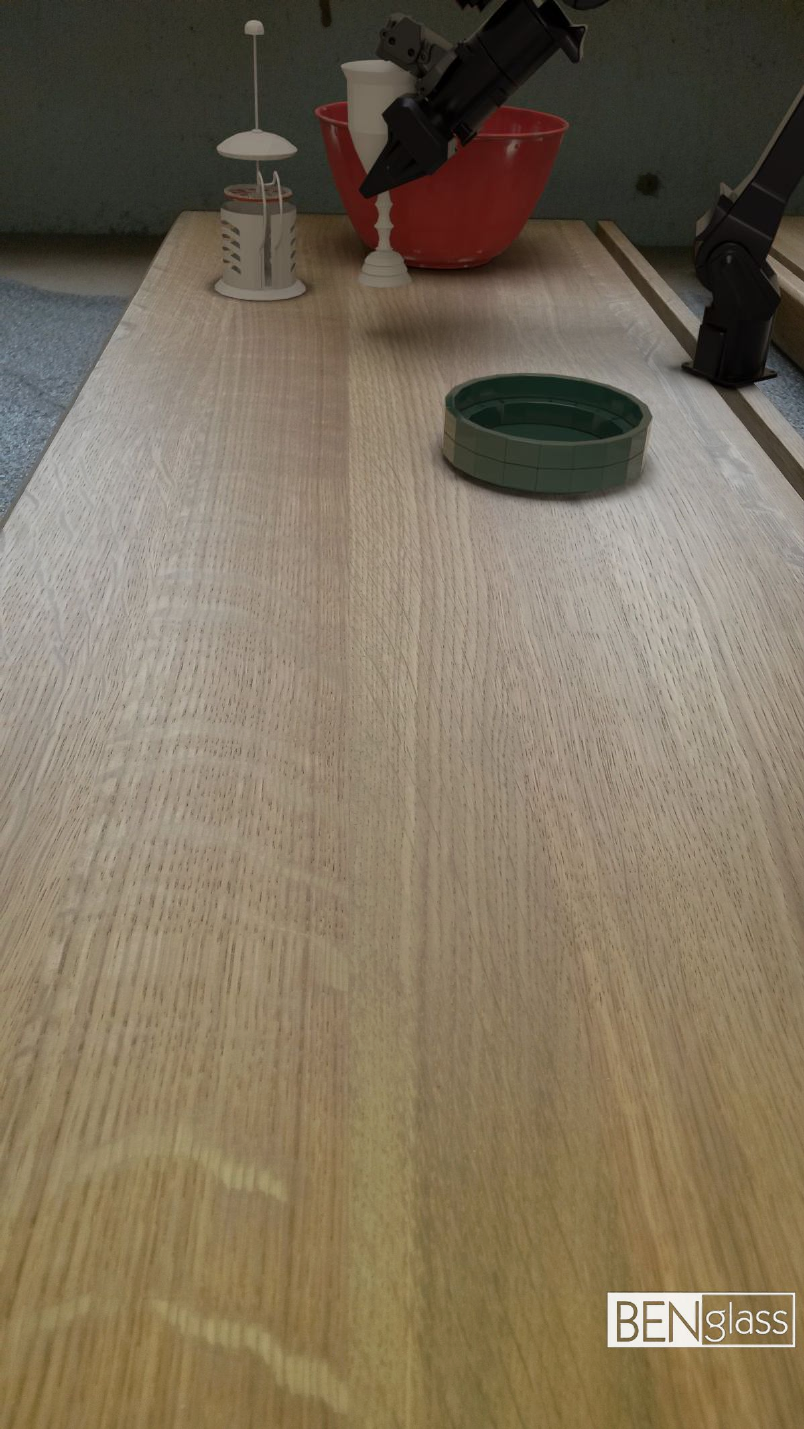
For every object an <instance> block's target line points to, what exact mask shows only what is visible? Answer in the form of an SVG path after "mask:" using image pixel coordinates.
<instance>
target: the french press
mask: <svg viewBox="0 0 804 1429" xmlns="http://www.w3.org/2000/svg"><path fill="white" fill-rule="evenodd" d="M244 34H246V35H252V37H253V72H254V73H253V75H254V76H253V77H254V114H255V115H254V116H255V128H253V129H251V130H249V131H243V132H239V133H236V134H234V135H232V136H229V137H228V138H226V139H225V140H223V141H222V142H221V143H219V144H218V145H217V146H216V151H217V153H218V154H219V155H220V156H222V157H224V158H231V159H235V160H242V161H243V160H244V161H255V162H256V182H254V183H250V182H249V183H248V184H247V183H242V184H241V183H240V184H239V183H238V184H233V185H229V186H226V187H225V188H223V195H224V196H225V197H226V198H229V199H231V200H229V201H226V202H224V203H222V204H221V205H220V222H221V225H223V226H221V237H222V238H223V239H221V247H222V248H221V249H222V250H223V251H224V252H222V253H221V254H222V262H223V265H222V277H221V278H220V279H219V280H218V281H217V282H216V283H215V284H214V290H215V291H216V292H218V293H219V294H220V295H222V296H226V297H229V298H234V299H240V300H248V301H278V300H287V299H291V298H294V297H298V296H301V295H302V294H304V293H305V292H306V291H307V288H306V285H305V284H304V283H303V282H302V280H300V279H299V278H297V277H298V263H297V262H295V261H296V260H297V257H298V255H297V249H296V248H297V247H296V246H297V245H298V244H297V237H295V235H296V234H297V224H295V223H296V220H297V207H296V205H295V204H293V203H290V202H287V201H286V200H289V199H291V198H292V197H293V196H294V192H293V191H292V189H291V188H288V187H286V186H283V185H281V183H280V182H281V181H280V178H279V177H280V176H279V175H278V172H277V171H276V170H274V171H273V174H272V175H273V177H272V182H269V183H268V182H267V183H264V180H263V176H262V172H261V171H260V161H278V160H285V159H288V158H291V157H293V156H295V154H297V152H298V148H297V147H296V146H295V145H294V144H292V143H291V142H290V141H288V140H287V139H286V138H285V137H282V136H280V135H278V134H275V133H272V132H267V131H264V130H262V129H261V128H259V111H258V110H259V109H258V108H259V107H258V106H259V104H258V64H257V62H258V61H257V59H258V58H257V36H259V35H260V36H261V35H265V28H264V25H263V23H262V22H261V21H260V20H256V19H252V20H248V21H247V22H246V23H245V25H244ZM276 182H277V184H276ZM224 225H226V226H228V225H232V226H233V228H231V229H229V228H228V227H226V226H224ZM230 238H231V239H232V240H233V241H231V242H230V241H228V240H227V239H230ZM227 251H232V252H233V253H232V254H230V253H227ZM229 263H231V264H232V265H233V266H228V265H226V264H229Z"/></svg>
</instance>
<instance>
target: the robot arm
mask: <svg viewBox="0 0 804 1429" xmlns="http://www.w3.org/2000/svg"><path fill="white" fill-rule="evenodd" d="M453 1H454V3H455V4H456V6H457V7H458V8H459V9H460V10H461V12H465V11H466V10H467V9H468V8H471V9H474V8H475V7H476V10H477V11H478V12H479V14H482V13H484V12H485V11H486V10H487V9H488V8H489V7H490V6H491V5H492V4H493V3H494V2H495V1H496V0H453ZM561 1H562V3H563V4H565V5H566V6H568V7H570V8H571V9H574V10H576V11H582V12H585V11H590V10H595V9H597V8H599V7H601V6H603V5H605V4H607V3H609V2H610V1H611V0H561ZM588 29H589V26H588V24H586V23H582V24H577V23H576V24H575V23H573V22H572V20H571V19H570V18H569V17H568V15H567V14H566V13H565V11H564V10H563V8H562V7H561V6H560V4H559V3H558V2H557V0H544V1H542V0H504V1H503V3H501V4H500V6H499V7H498V8H497V9H495V10H494V12H493V13H492V14H490V16H489V17H488V18H486V20H485V21H484V22H483V23H482V24H481V25H480V26H479V27H478V28H477V30H475V31H474V32H473V33H472V34H471V35H470V36H469V37H465V38H464V39H463V40H458V41H457V42H456V43H455V44H452V43H450V42H449V41H447V40H446V39H444V38H443V37H442V36H440V35H439V34H437V33H436V32H434V31H432V30H431V29H430V28H427V27H426V24H425V23H424V22H418V21H416V20H414V19H413V16H412V15H410V14H409V15H406V14H405V13H402V12H395V13H392V14H389V16H388V18H387V21H386V22H385V25H384V27H383V28H381V29H380V30H379V34H378V36H379V39H378V42H377V44H376V46H375V48H374V55H375V56H377V57H378V58H379V59H380V60H384V61H391V62H392V63H394V64H396V65H397V66H399V67H400V68H402V69H404V70H405V71H410V74H412V75H414V76H416V77H418V78H419V82H418V83H417V84H416V85H415V86H416V87H417V89H418V90H419V94H418V93H405V94H403V95H401V96H399V97H397V98H396V99H395V100H394V101H393V103H392V104H391V105H390V106H389V107H388V108H387V109H386V110H385V111H384V112H383V113H382V114H381V115H382V117H383V119H384V121H385V122H386V124H387V129H388V141H387V143H386V145H385V147H384V148H383V150H382V152H381V153H380V155H379V157H378V158H377V160H376V161H375V163H374V165H373V166H372V168H371V170H370V171H369V173H368V174H367V176H366V178H365V179H364V181H363V182H362V184H361V186H360V187H359V192H360V193H361V195H362V196H363V197H364V198H365V199H369V198H371V197H374V196H376V195H379V194H381V193H384V192H386V191H388V190H391V189H393V188H396V187H398V186H401V185H404V184H406V183H409V182H411V181H414V180H417V179H419V178H422V177H424V176H427V175H431V176H432V175H433V174H434V173H435V172H436V171H438V170H439V169H440V168H441V167H442V166H443V165H444V164H445V163H446V162H447V161H448V160H449V159H450V158H451V157H453V156H454V155H455V154H456V153H457V152H458V148H457V147H456V145H455V142H456V137H455V135H454V134H456V136H457V137H458V138H459V139H460V141H461V142H460V144H461V145H462V147H463V148H464V147H465V146H466V145H467V144H468V143H470V142H471V141H472V140H473V139H474V138H475V137H476V136H477V135H478V134H479V133H480V132H481V131H482V130H483V123H484V122H485V121H486V120H487V119H488V118H489V117H490V116H491V115H492V114H493V113H494V112H495V111H496V110H497V109H498V108H499V107H500V106H504V104H505V103H506V102H507V101H508V100H510V98H511V97H512V96H513V95H515V94H516V92H517V91H518V90H519V89H520V88H521V87H522V86H523V85H524V84H525V83H527V81H528V80H529V79H530V78H532V77H533V75H534V74H535V73H536V72H538V71H539V69H540V68H541V67H543V65H545V64H546V63H547V62H548V60H550V59H551V58H552V57H553V56H554V55H555V54H556V53H557V52H558V51H559V50H560V49H561V50H562V52H563V53H564V54H565V55H566V57H567V59H568V60H569V61H570V62H571V63H572V64H579V62H580V61H581V60H582V59H583V58H584V44H585V38H586V34H587V32H588ZM803 177H804V84H803V85H802V86H801V88H800V90H799V92H798V94H797V95H796V97H795V98H794V100H793V102H792V103H791V105H790V107H789V108H788V110H787V112H786V113H785V115H784V117H783V118H782V120H781V121H780V124H779V125H778V127H777V128H776V130H775V132H774V134H773V135H772V137H771V139H770V141H769V142H768V144H767V145H766V147H765V148H764V150H763V152H762V154H761V156H760V157H759V159H758V160H757V162H756V164H755V165H754V167H753V168H752V170H751V171H750V173H749V174H747V176H746V177H745V178H744V179H743V180H742V181H741V182H740V183H739V185H737V187H735V188H734V190H732V188H730V187H729V186H728V185H727V184H725V182H723V181H722V182H720V183H719V184H718V187H717V190H716V192H715V195H714V197H713V200H712V202H711V204H710V206H709V208H708V210H707V211H706V212H705V213H704V215H703V216H702V217H700V218H699V219H698V220H697V221H696V222H695V236H694V240H695V246H694V248H695V249H694V270H695V275H696V278H697V279H698V281H699V283H700V284H701V286H702V287H704V288H705V289H706V290H707V291H709V292H710V293H711V296H712V299H711V300H709V302H708V304H705V305H704V309H703V315H702V321H701V323H700V324H699V328H698V333H697V339H696V345H695V349H694V356H693V360H692V359H691V360H688V361H684V362H683V361H682V362H681V364H680V369H681V370H683V371H685V372H689V373H691V374H694V375H696V376H699V377H702V378H704V379H706V380H709V381H711V382H714V383H717V384H719V385H722V386H724V387H727V388H731V389H733V388H734V389H735V388H738V387H739V388H740V387H743V386H746V385H752V384H756V383H760V382H766V381H769V380H773V379H777V378H778V375H779V371H777V370H775V369H772V368H769V367H766V365H767V361H768V355H769V350H770V345H771V341H772V337H773V332H774V328H775V323H776V322H775V321H776V317H777V312H778V309H779V306H780V304H781V302H782V296H781V290H780V284H779V278H778V274H777V272H776V270H774V268H773V267H772V266H771V264H770V263H769V262H768V260H767V258H768V256H769V253H770V251H771V248H772V246H773V244H774V242H775V240H776V237H777V234H778V231H779V229H780V226H781V222H782V220H783V217H784V214H785V212H786V208H787V206H788V203H789V201H790V199H791V198H792V195H793V194H794V193H795V190H796V189H797V188H798V186H799V184H800V182H801V181H802V179H803Z"/></svg>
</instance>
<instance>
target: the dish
mask: <svg viewBox="0 0 804 1429" xmlns="http://www.w3.org/2000/svg"><path fill="white" fill-rule="evenodd" d="M653 418H654V416H653V414H652V412H651V410H650V408H649V406H648V405H647V404H646V403H645V402H643V401H642V400H641V399H639V398H638V397H637V396H635V395H634V394H632V393H630V392H627V391H625V390H622V389H620V388H618V387H616V386H613V385H610V384H608V383H604V382H600V381H597V380H592V379H590V378H589V379H588V378H583V377H578V376H572V375H566V374H565V375H564V374H557V373H541V372H513V373H512V372H511V373H496V374H491V375H486V376H480V377H476V378H472V379H468V380H467V381H464V382H462V383H460V384H458V385H455V386H453V387H452V388H451V389H450V391H449V392H448V393H447V394H446V395H445V396H444V402H443V418H442V419H443V420H442V433H441V448H442V449H441V451H442V454H443V455H444V456H445V458H446V459H447V460H448V461H449V462H450V463H451V464H452V465H453V467H455V468H457V469H459V470H460V471H462V472H464V473H466V474H468V475H470V476H472V477H473V478H476V479H479V480H481V481H484V482H486V483H489V484H492V485H495V486H498V487H501V488H505V489H508V490H513V491H518V492H524V493H532V494H541V495H543V494H544V495H574V494H577V495H578V494H585V493H593V492H596V491H602V490H607V489H610V488H614V487H617V486H621V485H624V484H626V483H628V482H629V481H631V480H632V479H634V478H636V477H637V476H639V475H640V474H641V473H642V470H643V468H644V466H645V463H646V460H647V454H648V449H649V443H650V442H649V441H650V437H651V429H652V424H653Z"/></svg>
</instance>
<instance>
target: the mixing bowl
mask: <svg viewBox="0 0 804 1429" xmlns="http://www.w3.org/2000/svg"><path fill="white" fill-rule="evenodd" d="M314 114H315V115H316V117H317V118H318V121H319V126H320V132H321V136H322V140H323V146H324V149H325V153H326V157H327V162H328V165H329V168H330V171H331V175H332V179H333V181H334V184H335V187H336V189H337V193H338V196H339V197H340V201H341V203H342V206H343V207H344V210H345V213H346V214H347V217H348V219H349V222H350V223H351V225H352V227H353V229H354V231H355V232H356V234H357V236H358V237H359V238H360V239H361V240H362V242H364V244H365V245H367V246H368V247H369V248H370V249H372V250H373V251H374V252H375V251H376V249H375V248H377V247H378V243H379V234H378V230H377V229H376V228H375V226H374V225H375V224H376V223H377V222H378V218H379V213H378V209H377V207H376V205H375V203H376V202H377V199H378V195H376V196H374V197H371V198H369V199H365V198H364V197H363V196H362V195H361V193H360V192H359V187H360V186H361V184H362V182H363V181H364V179H365V178H366V176H367V173H366V171H365V169H364V167H363V165H362V163H361V160H360V158H359V156H358V154H357V152H356V150H355V147H354V144H353V140H352V137H351V134H350V131H349V128H348V100H347V101H339V102H333V103H328V104H324V105H321V106H319V107H317V108H316V109H315V111H314ZM569 128H570V123H569V122H568V121H567V120H566V119H564V118H561V117H559V116H556V115H553V114H550V113H546V112H541V111H537V110H533V109H532V110H531V109H526V108H519V107H514V106H508V105H502V106H500V107H499V108H498V109H497V110H496V111H495V112H494V113H493V114H492V115H491V116H490V117H489V118H488V119H487V120H486V121H485V122H484V123H483V130H482V131H481V132H480V133H479V134H478V135H477V136H476V137H475V138H474V139H473V140H472V141H471V142H470V143H468V144H467V145H466V146H465V147H464V148H463V147H462V145H461V144H460V142H461V141H460V139H459V138H458V137H457V136H456V134H454V135H455V137H456V142H455V145H456V147H457V148H458V152H457V153H456V154H455V155H454V156H453V157H451V158H450V159H449V160H448V161H447V162H446V163H445V164H444V165H443V166H442V167H441V168H440V169H439V170H438V171H436V172H435V173H434V174H433V175H432V176H431V175H427V176H424V177H422V178H419V179H417V180H414V181H411V182H409V183H406V184H404V185H401V186H398V187H396V188H393V189H391V190H389V195H390V200H391V202H392V204H393V205H392V207H391V209H390V213H389V218H390V221H391V223H392V224H393V225H394V227H393V228H392V229H391V231H390V236H389V241H390V246H391V247H392V248H393V250H392V251H395V252H398V253H399V254H400V255H401V256H402V258H403V259H404V264H405V265H406V266H409V267H414V268H424V269H445V270H450V269H452V270H453V269H467V268H474V267H479V266H482V265H485V264H487V263H489V262H490V261H491V259H494V258H496V257H497V256H499V255H500V254H502V253H503V252H504V251H506V250H507V249H508V248H509V247H510V246H512V244H513V243H514V242H515V241H516V239H517V238H518V237H519V235H520V234H521V232H522V231H523V229H524V227H525V225H526V224H527V223H528V221H529V219H530V217H531V215H532V214H533V212H534V210H535V208H536V207H537V204H538V202H539V200H540V198H541V196H542V194H543V192H544V190H545V187H546V184H547V182H548V180H549V178H550V176H551V173H552V171H553V168H554V165H555V163H556V160H557V157H558V154H559V151H560V148H561V144H562V141H563V139H564V135H565V132H566V131H568V130H569Z"/></svg>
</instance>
